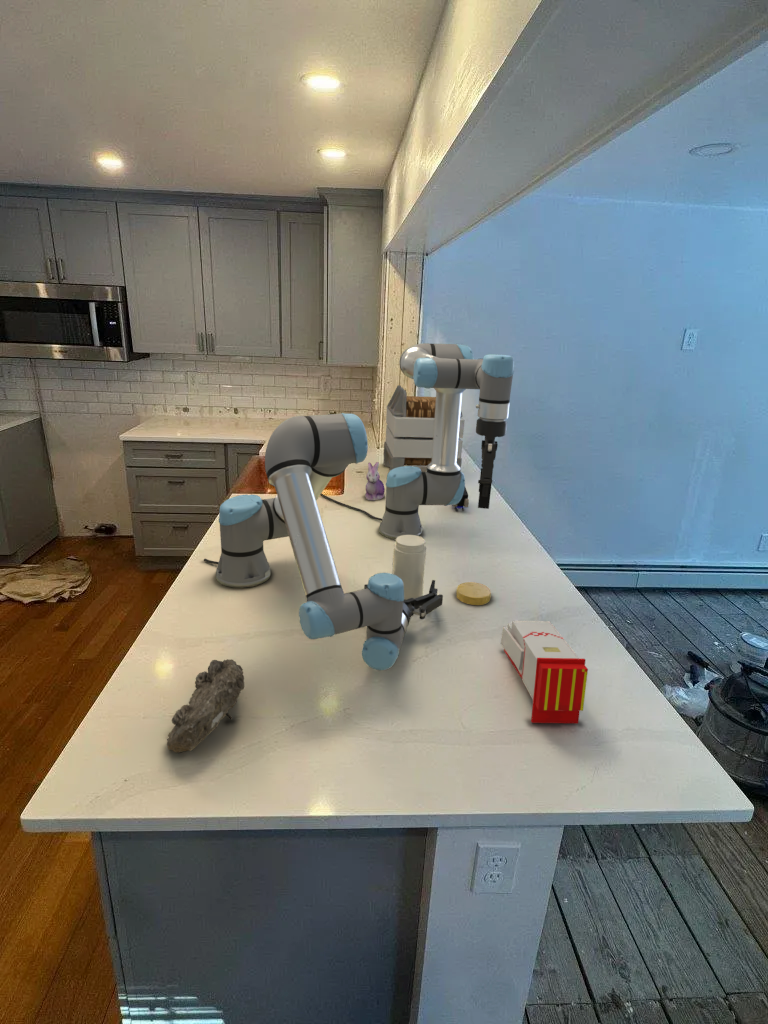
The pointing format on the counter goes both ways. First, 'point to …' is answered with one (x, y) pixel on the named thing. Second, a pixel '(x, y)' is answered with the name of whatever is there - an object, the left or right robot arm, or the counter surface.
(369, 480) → the figurine
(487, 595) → the lid
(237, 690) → the fossil
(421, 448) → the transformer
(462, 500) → the figurine character
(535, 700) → the toy
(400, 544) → the jar
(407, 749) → the counter surface
